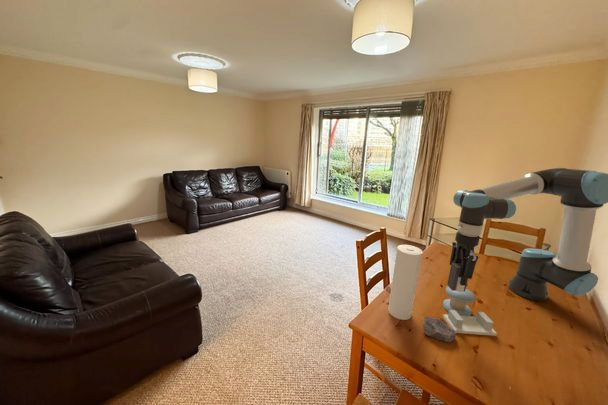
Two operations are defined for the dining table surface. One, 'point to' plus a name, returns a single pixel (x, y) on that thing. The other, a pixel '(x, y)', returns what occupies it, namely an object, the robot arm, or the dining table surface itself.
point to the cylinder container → (404, 281)
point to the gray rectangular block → (454, 276)
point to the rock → (438, 329)
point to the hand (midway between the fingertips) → (456, 287)
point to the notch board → (470, 323)
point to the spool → (459, 301)
